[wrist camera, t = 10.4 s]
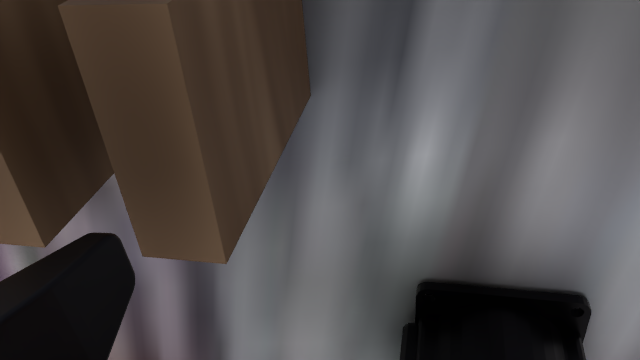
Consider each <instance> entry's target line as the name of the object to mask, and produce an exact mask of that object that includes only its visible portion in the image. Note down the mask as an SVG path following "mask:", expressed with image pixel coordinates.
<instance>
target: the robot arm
mask: <svg viewBox="0 0 640 360" xmlns="http://www.w3.org/2000/svg"><path fill="white" fill-rule="evenodd" d="M134 286H135V273H134V270H133V268H132V266H131V263H130V261H129V259H128V256H127V254H126V251H125V249H124V247H123V244H122V242H121V240H120V238H119V237H118V236H116V235H115V234H112V233H89V234H86V235H84V236H82V237H81V238H79V239H77V240H75V241H73V242H71V243H70V244H68V245H66V246H64V247H62V248H61V249H59V250H57V251H55V252H53V253H51V254H50V255H48V256H46V257H44V258H42V259H41V260H39V261H37V262H35V263H33V264H31V265H30V266H28V267H26V268H24V269H22V270H21V271H19V272H17V273H15V274H13V275H12V276H10V277H8V278H6V279H4V280H2V281H1V282H0V360H108V357H109V354H110V352H111V349H112V346H113V344H114V341H115V338H116V336H117V333H118V330H119V328H120V325H121V322H122V320H123V317H124V314H125V312H126V309H127V306H128V304H129V301H130V298H131V296H132V293H133V290H134ZM425 294H432V295H430V296H429V295H425ZM573 308H579V309H573ZM590 316H591V308H590V304H589V302H588V300H587V299H586V298H584V297H582V296H578V295H568V294H557V293H545V292H534V291H523V290H512V289H501V288H490V287H479V286H468V285H457V284H445V283H434V282H424V283H422V284H420V285H419V286H418V287H417V292H416V314H415V323H408V324H406V325H405V326H404V327H403V335H402V344H401V353H400V360H586V358H585V353H584V349H583V345H582V344H583V340H584V337H585V333H586V330H587V326H588V323H589V319H590Z"/></svg>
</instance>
